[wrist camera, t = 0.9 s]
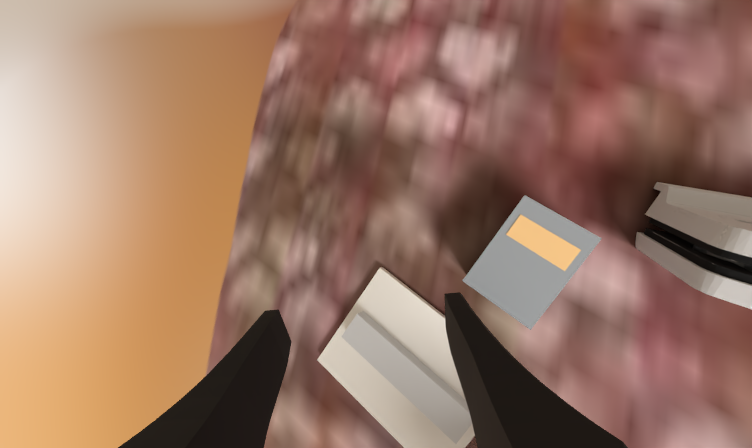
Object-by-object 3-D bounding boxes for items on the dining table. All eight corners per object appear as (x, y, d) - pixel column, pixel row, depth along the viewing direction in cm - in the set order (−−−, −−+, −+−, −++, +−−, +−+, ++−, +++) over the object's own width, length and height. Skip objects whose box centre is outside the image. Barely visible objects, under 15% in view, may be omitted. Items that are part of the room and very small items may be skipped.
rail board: (519, 374, 24) (522, 385, 22) (439, 475, 25) (435, 495, 23) (382, 267, 28) (374, 268, 26) (321, 357, 30) (309, 365, 28)
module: (575, 241, 23) (602, 238, 18) (520, 313, 24) (530, 330, 19) (516, 206, 25) (524, 194, 20) (467, 274, 26) (462, 280, 20)
